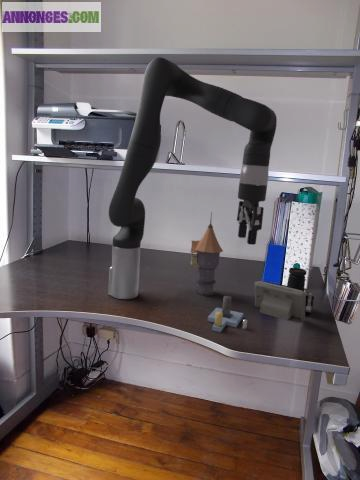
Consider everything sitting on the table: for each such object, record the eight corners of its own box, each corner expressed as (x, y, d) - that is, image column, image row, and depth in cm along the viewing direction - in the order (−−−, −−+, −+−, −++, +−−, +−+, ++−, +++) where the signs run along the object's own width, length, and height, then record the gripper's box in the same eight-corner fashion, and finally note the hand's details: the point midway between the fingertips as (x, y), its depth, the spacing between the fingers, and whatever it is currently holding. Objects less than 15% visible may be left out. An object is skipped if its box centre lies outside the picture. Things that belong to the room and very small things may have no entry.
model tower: (187, 291, 135) (194, 209, 129) (218, 293, 134) (225, 211, 129) (186, 300, 126) (193, 212, 120) (219, 303, 125) (227, 215, 119)
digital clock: (307, 322, 115) (311, 289, 113) (293, 329, 108) (298, 295, 106) (261, 306, 125) (264, 276, 123) (246, 312, 119) (250, 280, 117)
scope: (316, 276, 115) (283, 270, 119) (309, 318, 118) (278, 310, 122) (318, 270, 122) (287, 265, 126) (313, 310, 125) (282, 303, 129)
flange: (216, 311, 114) (217, 296, 113) (242, 317, 111) (244, 302, 110) (201, 327, 102) (202, 311, 101) (231, 334, 98) (233, 318, 98)
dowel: (241, 329, 103) (242, 320, 102) (242, 327, 104) (243, 318, 103) (245, 330, 103) (246, 321, 102) (246, 328, 104) (247, 319, 103)
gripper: (232, 180, 107) (226, 234, 110) (248, 183, 93) (241, 246, 97) (257, 182, 108) (250, 236, 112) (276, 185, 95) (268, 247, 98)
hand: (246, 240), depth 104 cm, fingers open, 8 cm apart
